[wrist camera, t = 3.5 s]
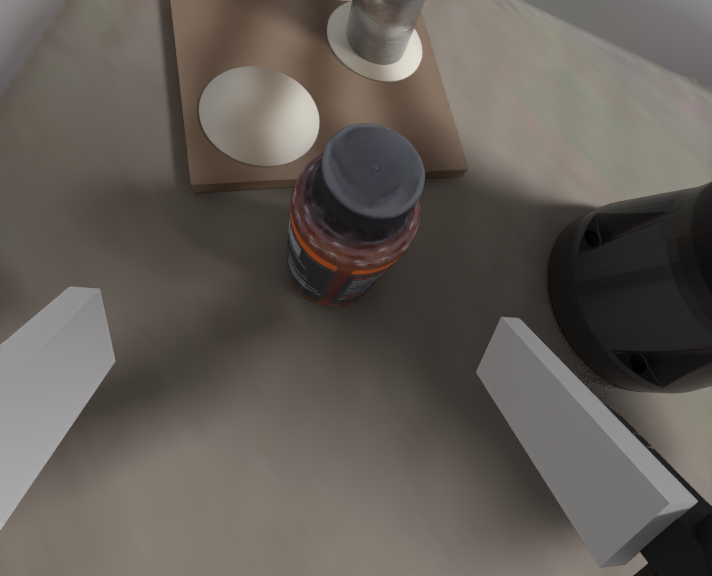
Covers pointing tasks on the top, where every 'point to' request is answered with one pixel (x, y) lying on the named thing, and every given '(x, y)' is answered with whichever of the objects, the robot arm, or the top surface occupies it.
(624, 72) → the top surface
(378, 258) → the supplement bottle
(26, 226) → the top surface
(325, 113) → the board
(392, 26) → the pin
